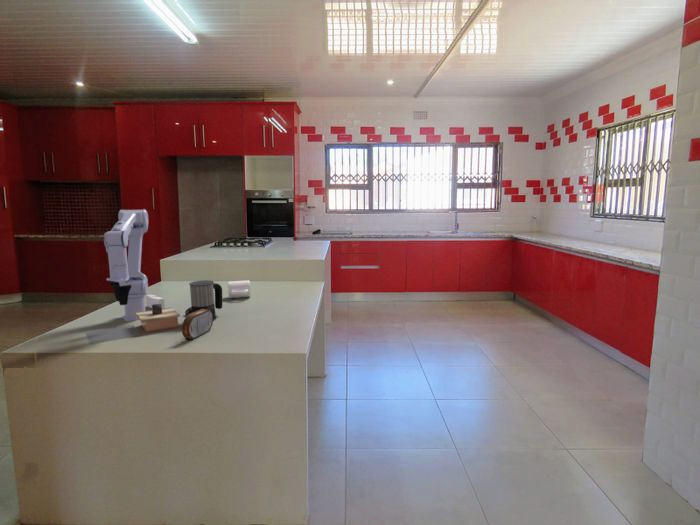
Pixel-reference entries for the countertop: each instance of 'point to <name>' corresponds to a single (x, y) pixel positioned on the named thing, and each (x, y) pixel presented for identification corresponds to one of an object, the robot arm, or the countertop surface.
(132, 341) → the countertop surface
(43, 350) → the countertop surface
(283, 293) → the countertop surface
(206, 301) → the milk frother
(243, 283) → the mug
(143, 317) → the birch lid
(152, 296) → the napkin holder
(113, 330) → the slate mat
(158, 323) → the terracotta dish
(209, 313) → the tin
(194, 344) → the countertop surface
